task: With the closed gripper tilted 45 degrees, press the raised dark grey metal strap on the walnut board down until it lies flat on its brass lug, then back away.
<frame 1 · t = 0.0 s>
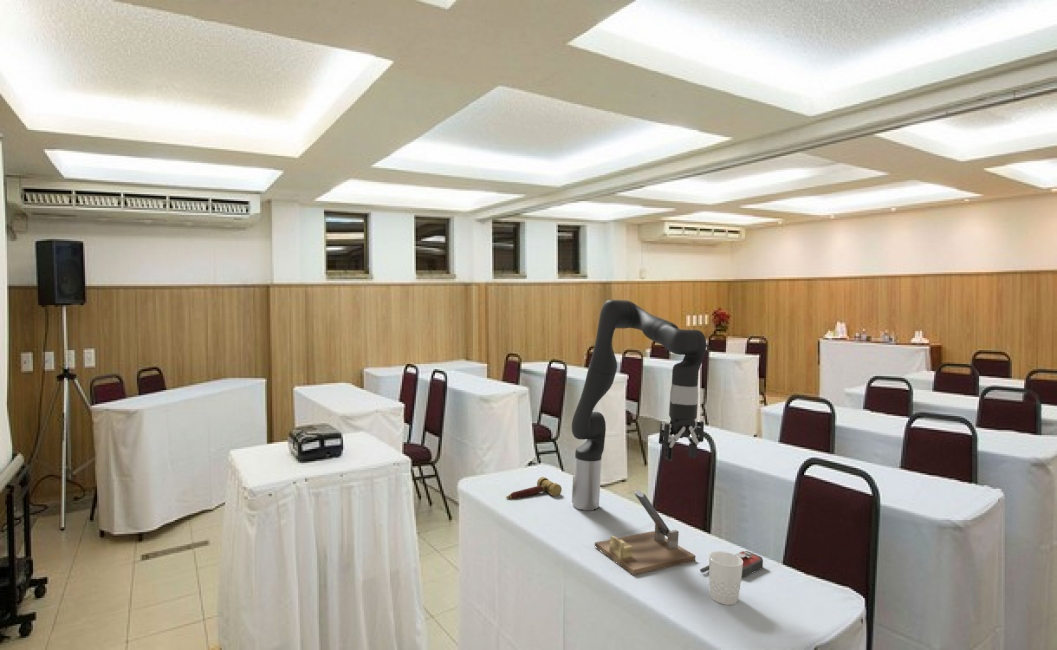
hand: (680, 458, 157), 29 cm above the table, tool pointing down, fingers open, 8 cm apart
gavel: (530, 496, 207), on the table
strap: (653, 514, 163), point 11 cm above the table, hinge at 50.0°
white cup: (723, 598, 139), on the table
latch board: (644, 553, 162), on the table
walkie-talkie: (732, 571, 155), on the table
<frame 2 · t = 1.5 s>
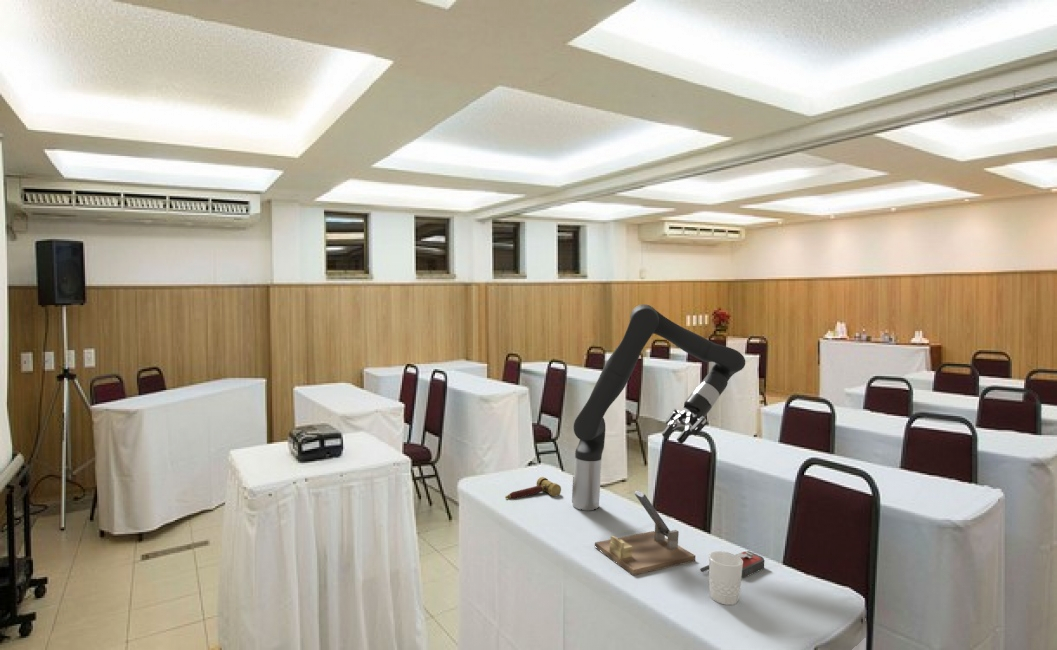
hand: (671, 439, 174), 30 cm above the table, tool tilted 45°, fingers open, 6 cm apart
nothing on the table moved.
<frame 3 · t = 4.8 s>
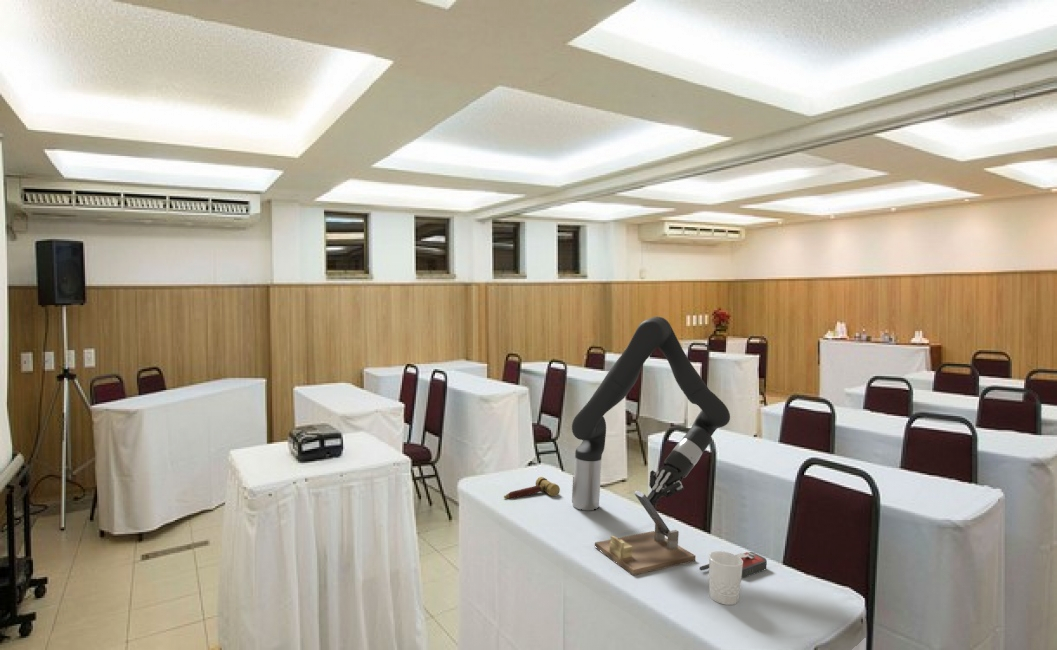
hand: (648, 503, 161), 15 cm above the table, tool tilted 45°, fingers closed
strap: (653, 514, 163), point 11 cm above the table, hinge at 50.0°, touching gripper
everything else where it was.
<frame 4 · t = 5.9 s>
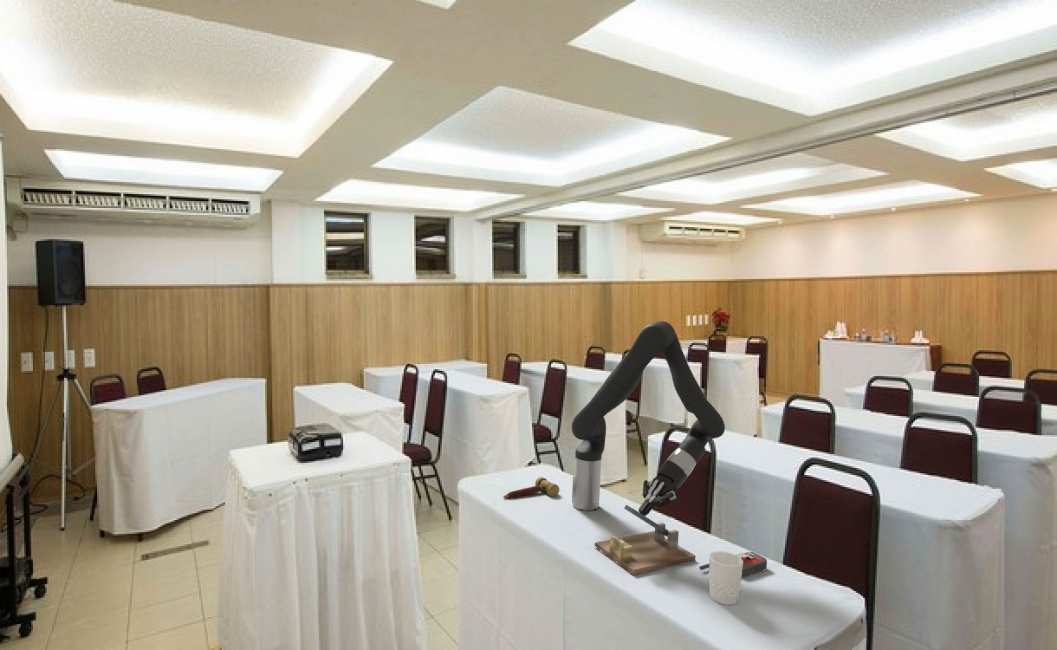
hand: (641, 513, 160), 12 cm above the table, tool tilted 45°, fingers closed
strap: (649, 521, 162), point 9 cm above the table, hinge at 32.4°, touching gripper
everything else where it was.
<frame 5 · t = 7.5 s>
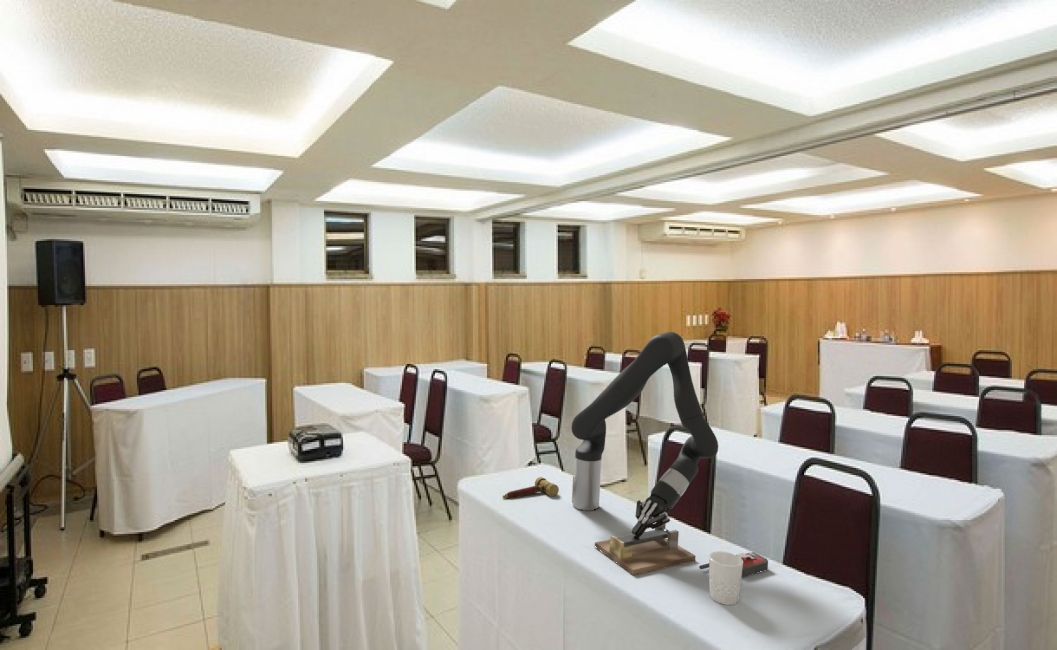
hand: (634, 535, 160), 6 cm above the table, tool tilted 45°, fingers closed
strap: (644, 537, 162), point 5 cm above the table, hinge at -0.3°, touching gripper, latch board
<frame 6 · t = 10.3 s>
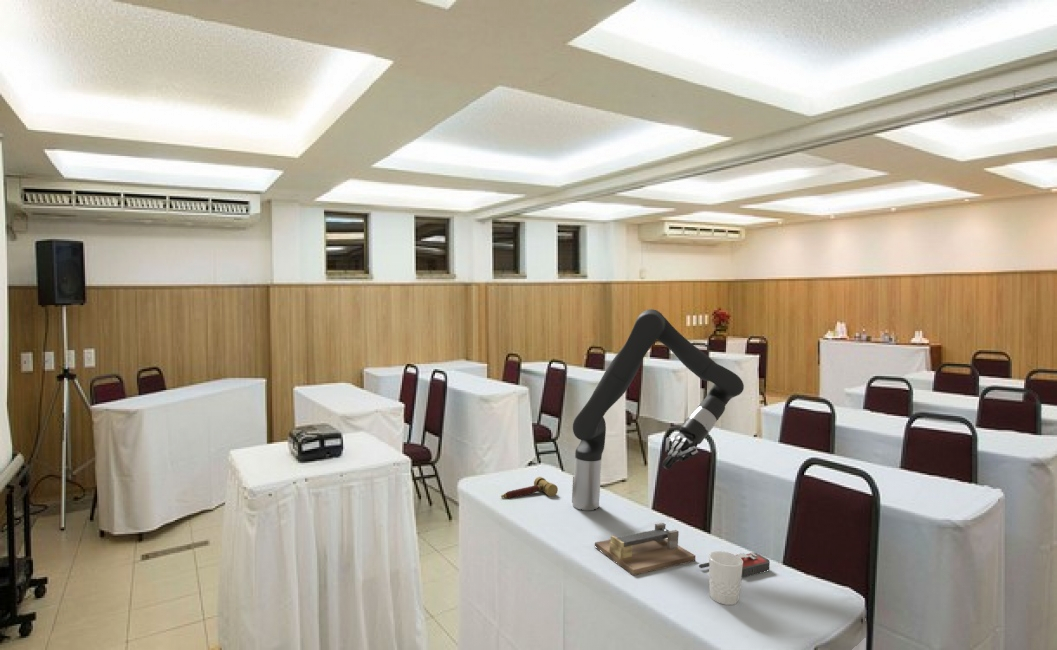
hand: (664, 467, 169), 23 cm above the table, tool tilted 45°, fingers closed
strap: (644, 537, 162), point 5 cm above the table, hinge at -0.3°, touching latch board
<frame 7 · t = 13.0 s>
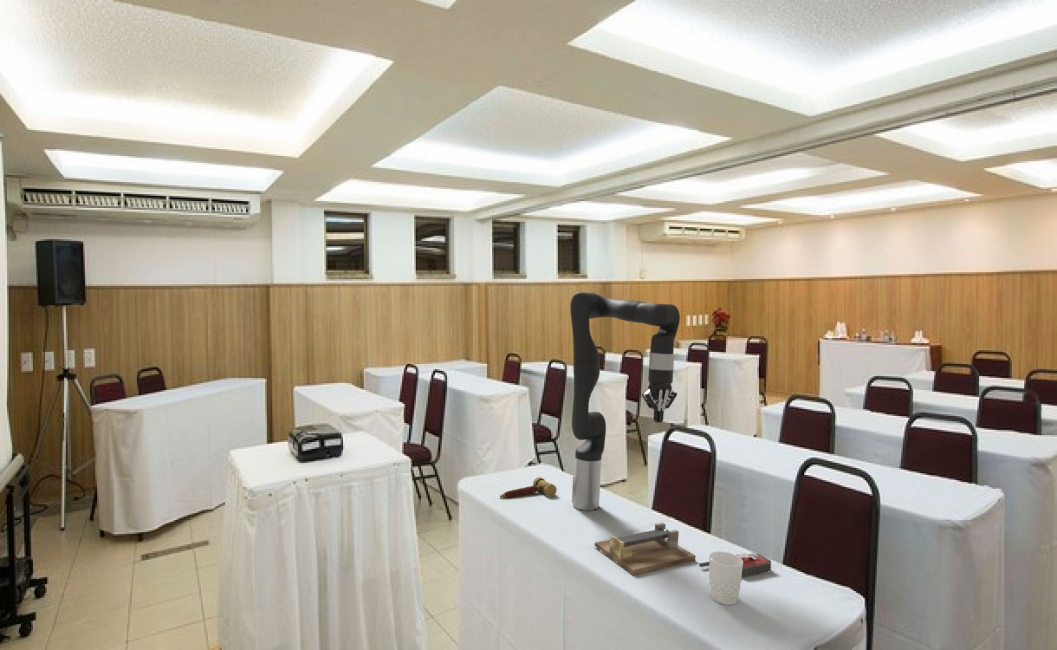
hand: (658, 422, 177), 35 cm above the table, tool pointing down, fingers closed
at the end: strap at +0° (first picture: +50°); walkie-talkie moved 1.4 cm from its start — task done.
